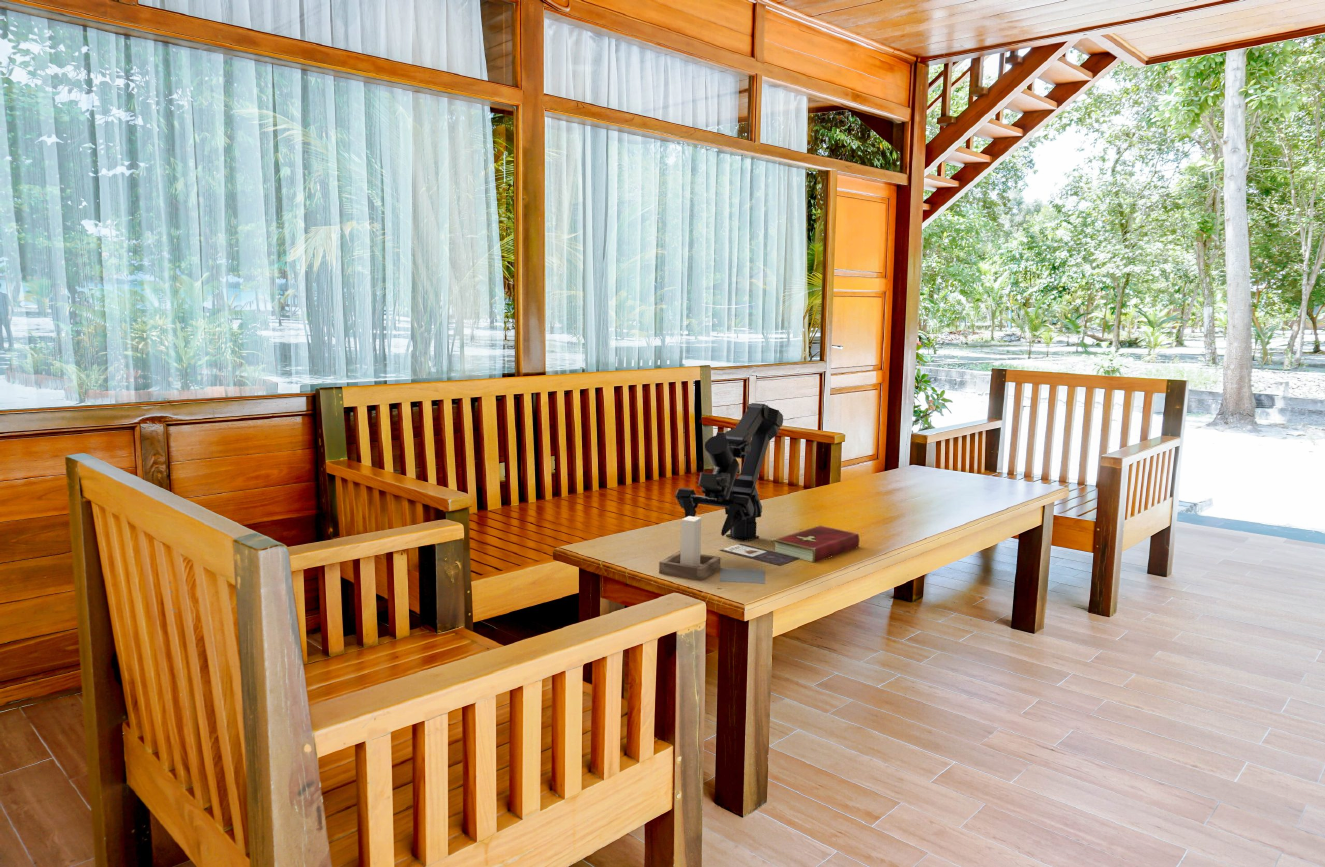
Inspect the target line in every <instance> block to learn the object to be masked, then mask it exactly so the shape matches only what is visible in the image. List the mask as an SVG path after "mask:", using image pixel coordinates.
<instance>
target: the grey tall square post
mask: <svg viewBox="0 0 1325 867" xmlns="http://www.w3.org/2000/svg"><path fill="white" fill-rule="evenodd" d="M680 525H681V526H680V551H681V552H680V564H685V565H691V566H697V567H700V566H702V564H700V554H701V550H702V548H701V546H702V545H701V543H702V541H701V540H702V517H700V516H699V517H698V516H695V517H692V516H688V517H686V518H685V517H684V518H682V519H681V522H680Z"/></svg>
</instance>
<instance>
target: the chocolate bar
mask: <svg viewBox="0 0 1325 867" xmlns="http://www.w3.org/2000/svg"><path fill="white" fill-rule="evenodd" d="M719 551H720V552H723V553H726V554H731V555H735V556H739V557H742V558H747V559H751V560H754V561H757V562H763V563H767V564H770V565H774V566H778V567H781V566H784V565H786V564H790V563H791V562H795V561H797V560H801V559H800V558H798V557H794V556H790V555H786V554H782V553H778V552H775V550H769V549H765V548H762V547H761V548H760V547H757V546H753V545H748V544H744V543H739V544H735V545H732V546H728V547H726V548H722V549H719Z"/></svg>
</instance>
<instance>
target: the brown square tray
mask: <svg viewBox="0 0 1325 867" xmlns="http://www.w3.org/2000/svg"><path fill="white" fill-rule="evenodd" d="M680 552H681V550H677V551H676V552H675V553H673V554H670V556H667V557H666V558H664V559H662V560H660V561H659V564H658V573H659V574H663V575H668V576H675V577H681V578H688V579H692V580H699V581H702V580H704V579H706V578H707V577H709V576H711V575H712V574H713V573H714V572H716V571H718V570H720V569H721V557H720V556H714V555H707V554H701V553H700V564H702V566H700V567H697V566H691V565H685V564H680Z"/></svg>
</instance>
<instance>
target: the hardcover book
mask: <svg viewBox="0 0 1325 867" xmlns="http://www.w3.org/2000/svg"><path fill="white" fill-rule="evenodd" d="M860 540H861V539H860V535H859V533H856V532H852V531H847V530H843V529H839V528H833V527H829V526H824V525H817V526H814V527H810V528H806V529H804V530H799V531H797V532H793V533H790V534H788V535H784V536H780V537H778V538H774V539H773V542H775V546H774V547H775V549H774V552H778V553H782V554H786V555H790V556H794V557H798V558H800V559H799V560H805V561H808V562H811V563H815V562H818V561H821V560H824V559H825V560H827V559H829V557H830V558H832V557H831V556H833V557H835V556H834V555H836V556H837V555H841V554H843V552H844V553H846V551H847V552H849V551H851V549H852V550H855V549H857V548H856V547H858V548H859V546H860ZM854 548H855V549H854ZM848 550H849V551H848ZM826 558H827V559H826Z"/></svg>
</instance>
